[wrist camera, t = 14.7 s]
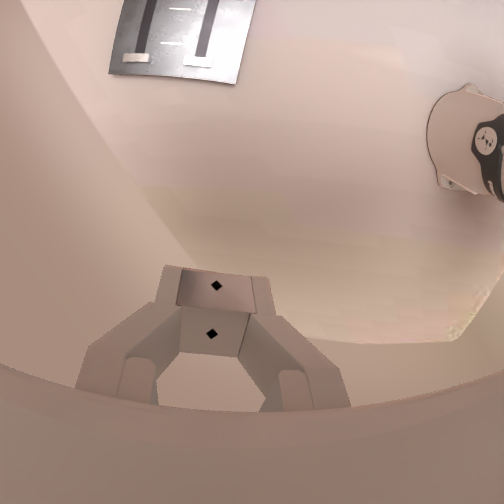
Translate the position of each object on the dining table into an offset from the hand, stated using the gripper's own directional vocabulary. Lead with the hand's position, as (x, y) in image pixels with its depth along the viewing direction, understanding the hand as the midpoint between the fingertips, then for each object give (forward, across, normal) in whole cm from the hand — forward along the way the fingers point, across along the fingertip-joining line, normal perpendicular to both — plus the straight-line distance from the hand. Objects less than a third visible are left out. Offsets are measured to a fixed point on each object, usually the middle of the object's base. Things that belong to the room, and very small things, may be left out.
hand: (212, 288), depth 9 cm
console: (+29, +7, -19) cm, 35 cm away
